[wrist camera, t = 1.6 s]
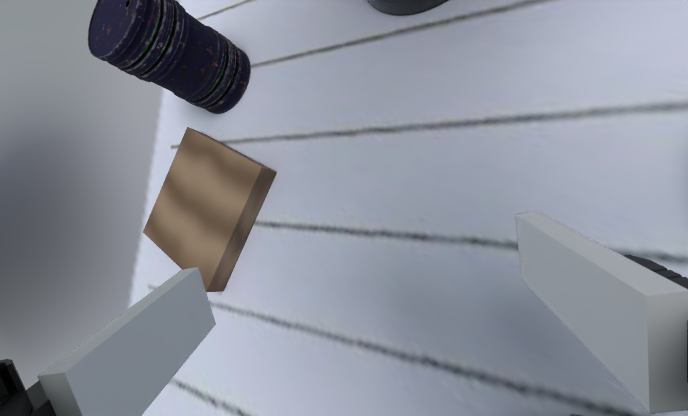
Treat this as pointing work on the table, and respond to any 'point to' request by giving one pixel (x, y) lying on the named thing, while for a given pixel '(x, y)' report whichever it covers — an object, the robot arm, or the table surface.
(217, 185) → the walnut plinth
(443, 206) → the table surface
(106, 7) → the dark blue cylinder
